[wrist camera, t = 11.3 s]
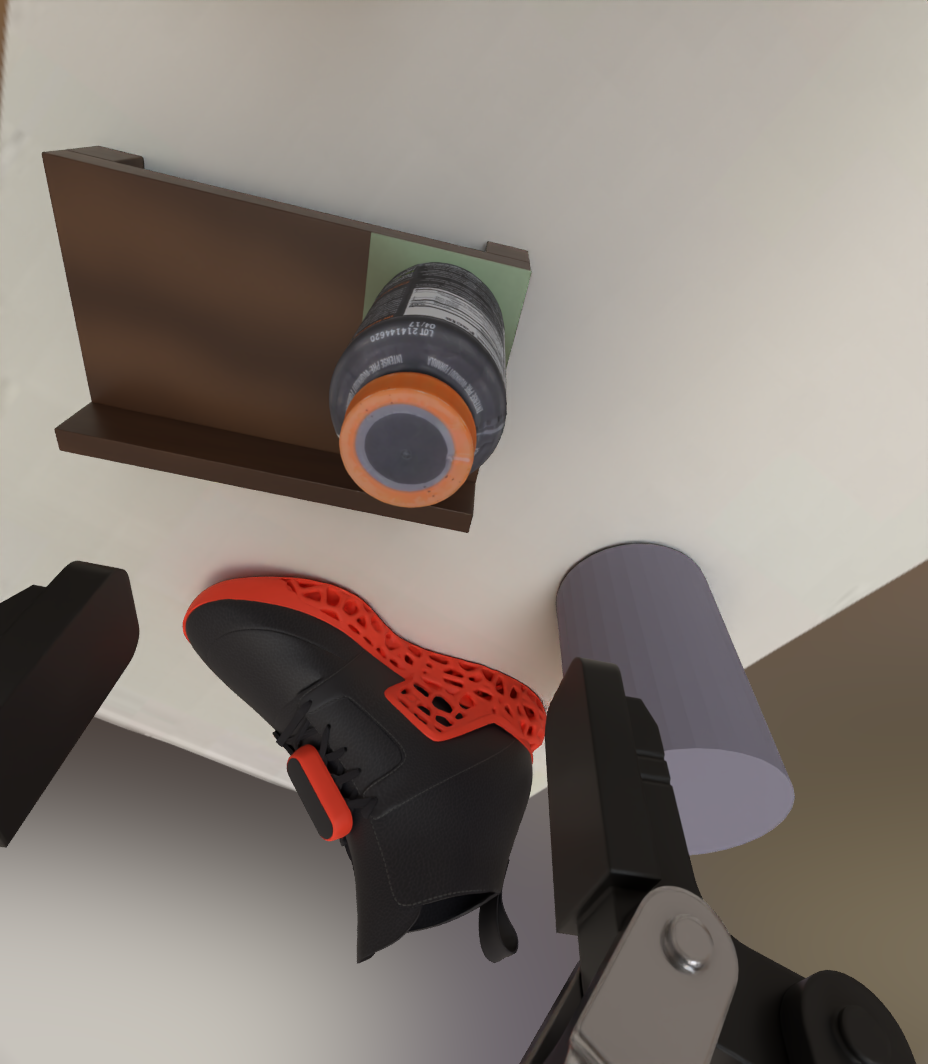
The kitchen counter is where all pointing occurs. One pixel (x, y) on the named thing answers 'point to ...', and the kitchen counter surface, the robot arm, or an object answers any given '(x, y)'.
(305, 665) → the high-top sneaker
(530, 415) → the kitchen counter surface
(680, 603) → the purple-gray cylinder
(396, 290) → the pill bottle
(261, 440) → the shelf
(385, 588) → the kitchen counter surface
